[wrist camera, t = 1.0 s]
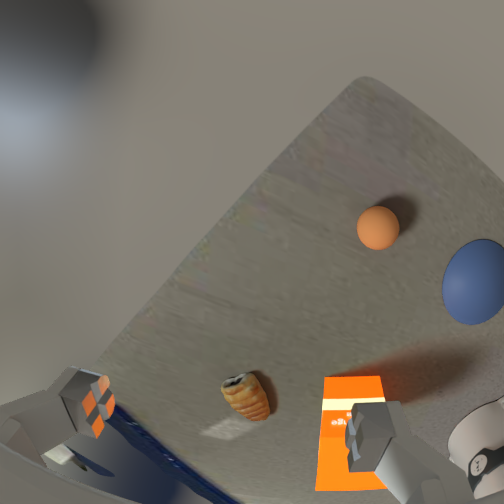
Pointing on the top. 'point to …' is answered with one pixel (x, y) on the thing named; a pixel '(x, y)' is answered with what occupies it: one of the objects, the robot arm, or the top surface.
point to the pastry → (246, 396)
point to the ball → (378, 227)
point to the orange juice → (343, 433)
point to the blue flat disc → (475, 282)
